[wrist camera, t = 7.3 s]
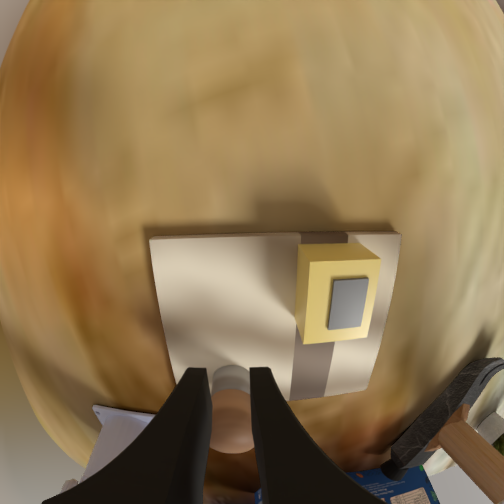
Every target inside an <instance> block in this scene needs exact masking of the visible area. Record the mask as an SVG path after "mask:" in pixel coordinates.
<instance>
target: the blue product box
mask: <svg viewBox="0 0 504 504" xmlns="http://www.w3.org/2000/svg"><path fill="white" fill-rule="evenodd" d="M346 474H347V475H349V476H350V477H351V478H352V479H354V480H355V481H356V482H357V483H359V484H360V485H361V486H362V487H364V488H365V489H366V490H368V491H369V492H371V493H372V494H374V495H375V496H377V497H378V498H380V499H382V500H383V501H385V502H387V503H388V504H440V503H439V500H438V498H437V496H436V494H435V491H434V489H433V487H432V485H431V483H430V480H429V479H428V476H427V474H426V472H425V470H424V468H423V466H422V465H419V466H416V467H412V468H409V469H408V470H407V472H406V474H405V475H404V477H403V478H402V479H401V480H400V481H393V480H391V479H389V478H387V477H386V476H385V475H384V474H383V473H382V471H381V468H377V469H371V470H365V471H358V472H349V473H346ZM255 504H262V493H261V488H260V489H259V490H258V491H257V492H256V493H255Z"/></svg>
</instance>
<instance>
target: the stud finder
mask: <svg viewBox="0 0 504 504" xmlns="http://www.w3.org/2000/svg"><path fill="white" fill-rule="evenodd" d="M380 265H381V258H379V257H378V256H377V255H375V254H374V253H373V252H371V251H370V250H369V249H367V248H366V247H365V246H363V245H362V244H361V243H333V244H298V259H297V282H296V300H295V316H294V318H295V321H296V324H297V327H298V330H299V333H300V336H301V339H302V342H303V344H314V343H324V342H334V341H342V340H351V339H358V338H365V337H367V335H368V330H369V326H370V321H371V316H372V311H373V306H374V301H375V296H376V290H377V284H378V278H379V272H380Z"/></svg>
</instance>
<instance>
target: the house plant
mask: <svg viewBox="0 0 504 504" xmlns="http://www.w3.org/2000/svg"><path fill="white" fill-rule="evenodd" d="M477 431H478V433H479V435H480V436H482V437H483V438H484V439H485V440H486V441H487V442H488V443H489V444H491V445H492V446H493V447H494V448H495V449H496V450H497V451H498V452H499V453H500V454H502V455H503V456H504V419H503V418H502V417H501V416H499V415H498V414H497V413H496V412H493V413H491V414H490V415H489V416H488V417H487V418H486V419H485V420H483V422H482V423H481V424H480V425H479V426H478V428H477Z"/></svg>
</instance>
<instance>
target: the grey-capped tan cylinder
mask: <svg viewBox="0 0 504 504" xmlns="http://www.w3.org/2000/svg"><path fill="white" fill-rule="evenodd" d="M211 399H212V405H213V410H212V432H211V439H210V445H209V446H210V447H211V448H213V449H214V450H217V451H219V452H223V453H242V452H246V451H249V450H251V449H252V448H254V442H253V435H252V427H251V405H250V373H249V371H248V370H247V369H245V368H243V367H241V366H237V365H227V366H223V367H221V368H219V369H217V370H216V371H215V373H214V375H213V381H212V390H211Z"/></svg>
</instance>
